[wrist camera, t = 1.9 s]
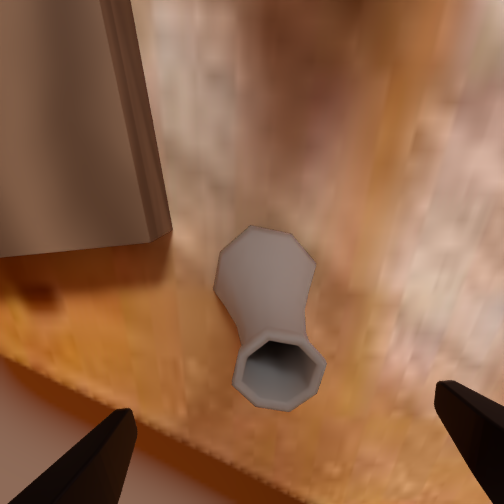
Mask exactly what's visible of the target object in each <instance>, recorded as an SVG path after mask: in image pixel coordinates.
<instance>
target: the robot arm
mask: <svg viewBox="0 0 504 504" xmlns="http://www.w3.org/2000/svg"><path fill="white" fill-rule="evenodd" d="M434 407H435V410H436V412H437V414H438V416H439V418H440V419H441V421H442V423H443V424H444V426H445V428H446V430H447V431H448V433H449V435H450V436H451V438H452V440H453V441H454V443H455V445H456V447H457V448H458V450H459V452H460V453H461V455H462V457H463V458H464V460H465V462H466V464H467V465H468V467H469V469H470V470H471V472H472V473H473V475H474V477H475V478H476V480H477V481H478V482H479V484H480V485H481V487H482V488H483V490H484V491H485V493H486V494H487V496H488V497H489V499H490V500H491V501H492V503H493V504H504V406H502V405H500V404H498V403H496V402H494V401H492V400H490V399H489V398H487V397H485V396H483V395H481V394H479V393H477V392H475V391H473V390H471V389H469V388H467V387H466V386H464V385H462V384H460V383H458V382H456V381H453V380H446V381H439V382H437V384H436V390H435V399H434ZM136 439H137V426H136V423H135V419H134V415H133V412H132V410H131V409H130V408H123V409H117V410H115V411H113V412H112V413H111V414H110V415H109V416H108V417H106V419H104V420H103V421H102V422H101V423H100V424H98V425H97V426H96V427H95V428H94V429H93V430H92V431H90V433H88V434H87V435H86V436H85V437H84V438H82V439H81V440H80V441H79V442H78V443H77V444H75V445H74V446H73V447H72V448H71V449H70V450H69V451H67V452H66V453H65V454H64V455H63V456H62V457H61V458H59V459H58V460H57V461H56V462H55V463H54V464H53V465H51V466H50V467H49V468H48V469H47V470H46V471H45V472H43V473H42V474H41V475H40V476H39V477H38V478H37V479H35V480H34V481H33V482H32V483H31V484H30V485H28V486H27V487H26V488H25V489H24V490H23V491H22V492H21V493H19V494H18V495H17V496H16V497H15V498H13V500H11V501H10V502H9V503H8V504H118V501H119V498H120V495H121V491H122V487H123V484H124V481H125V477H126V474H127V470H128V467H129V463H130V460H131V456H132V452H133V449H134V446H135V442H136Z"/></svg>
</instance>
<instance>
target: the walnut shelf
mask: <svg viewBox="0 0 504 504" xmlns="http://www.w3.org/2000/svg"><path fill="white" fill-rule="evenodd" d="M171 230H173V228H172V223H171V218H170V212H169V207H168V201H167V196H166V191H165V185H164V180H163V174H162V169H161V164H160V158H159V153H158V147H157V142H156V137H155V131H154V126H153V120H152V115H151V110H150V104H149V99H148V93H147V88H146V83H145V77H144V72H143V66H142V61H141V56H140V50H139V45H138V39H137V34H136V29H135V23H134V18H133V12H132V7H131V2H130V0H0V258H1V257H11V256H21V255H31V254H41V253H51V252H61V251H71V250H81V249H91V248H100V247H110V246H120V245H130V244H140V243H150V242H152V241H154V240H156V239H157V238H159V237H161V236H163V235H164V234H166V233H168V232H170V231H171Z"/></svg>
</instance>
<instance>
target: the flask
mask: <svg viewBox="0 0 504 504" xmlns="http://www.w3.org/2000/svg"><path fill="white" fill-rule="evenodd" d="M315 267H316V262H315V261H314V260H313V259H312V258H311V256H310V255H309V254H308V253H307V252H306V250H305V249H304V248H303V247H302V246H301V245H300V243H299V242H298V241H297V240H296V239H295V238H294V236H293V235H292V234H290V233H286V232H281V231H276V230H271V229H266V228H262V227H257V226H252V225H250V226H249V227H248V228H247V229H246V230H245V231H243V232H242V233H241V234H240V235H239V236H238V237H237V238H235V239H234V240H233V241H232V242H231V243H230V244H229V245H227V246H226V247H225V248H224V249H223V250H222V251H221V252H220V255H219V260H218V266H217V271H216V277H215V282H214V287H213V289H214V291H215V293H216V294H217V296H218V297H219V298H220V300H221V301H222V303H223V304H224V305H225V307H226V309H227V310H228V312H229V314H230V316H231V317H232V319H233V321H234V322H235V324H236V326H237V329H238V333H239V337H240V342H241V347H240V349H239V352H238V356H237V361H236V365H235V369H234V374H233V378H232V386H234V387H235V388H236V389H237V390H238V391H239V392H240V393H241V394H242V395H243V396H244V397H246V398H247V399H248V400H249V401H250V402H251V403H252V404H253V405H254V406H255V407H261V408H267V409H273V410H279V411H285V412H290V411H292V410H293V409H295V408H296V407H298V406H299V405H301V404H302V403H304V402H305V401H307V400H308V399H309V398H311V397H312V396H314V395H315V394H317V392H318V389H319V386H320V383H321V380H322V377H323V374H324V371H325V368H326V365H327V363H326V360H325V358H324V357H323V356H322V355H321V354H320V353H319V352H318V351H317V350H316V348H315V347H314V346H313V345H312V344H311V343H310V342H309V339H308V337H307V334H306V325H305V306H306V302H307V297H308V293H309V288H310V285H311V282H312V278H313V275H314V271H315Z"/></svg>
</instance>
